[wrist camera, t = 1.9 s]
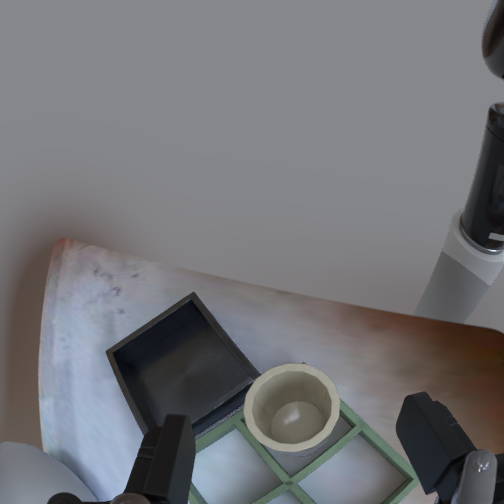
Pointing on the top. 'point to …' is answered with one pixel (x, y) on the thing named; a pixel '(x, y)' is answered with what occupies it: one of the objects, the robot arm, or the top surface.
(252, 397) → the cup
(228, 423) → the green divided tray
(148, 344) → the black tray
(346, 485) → the top surface
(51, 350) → the top surface
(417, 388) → the top surface
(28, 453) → the soap bottle
